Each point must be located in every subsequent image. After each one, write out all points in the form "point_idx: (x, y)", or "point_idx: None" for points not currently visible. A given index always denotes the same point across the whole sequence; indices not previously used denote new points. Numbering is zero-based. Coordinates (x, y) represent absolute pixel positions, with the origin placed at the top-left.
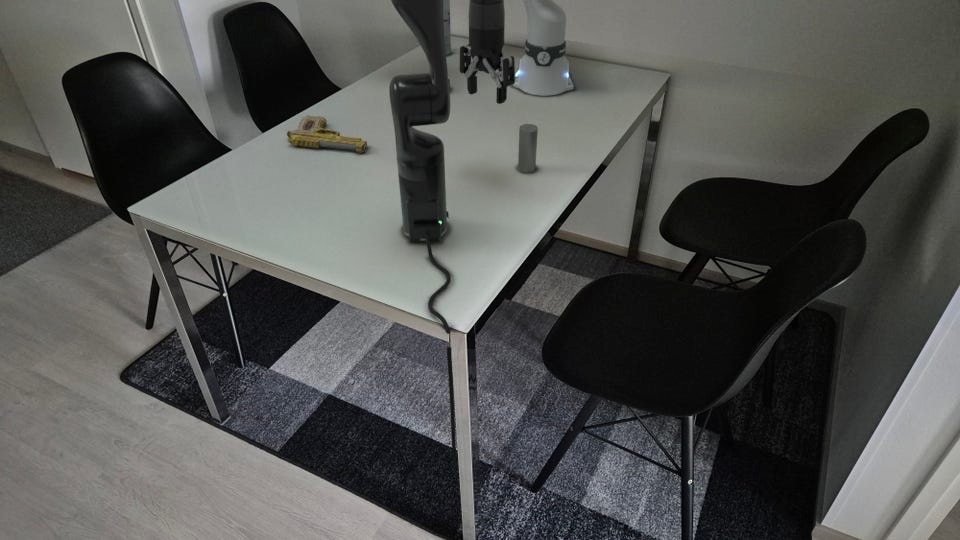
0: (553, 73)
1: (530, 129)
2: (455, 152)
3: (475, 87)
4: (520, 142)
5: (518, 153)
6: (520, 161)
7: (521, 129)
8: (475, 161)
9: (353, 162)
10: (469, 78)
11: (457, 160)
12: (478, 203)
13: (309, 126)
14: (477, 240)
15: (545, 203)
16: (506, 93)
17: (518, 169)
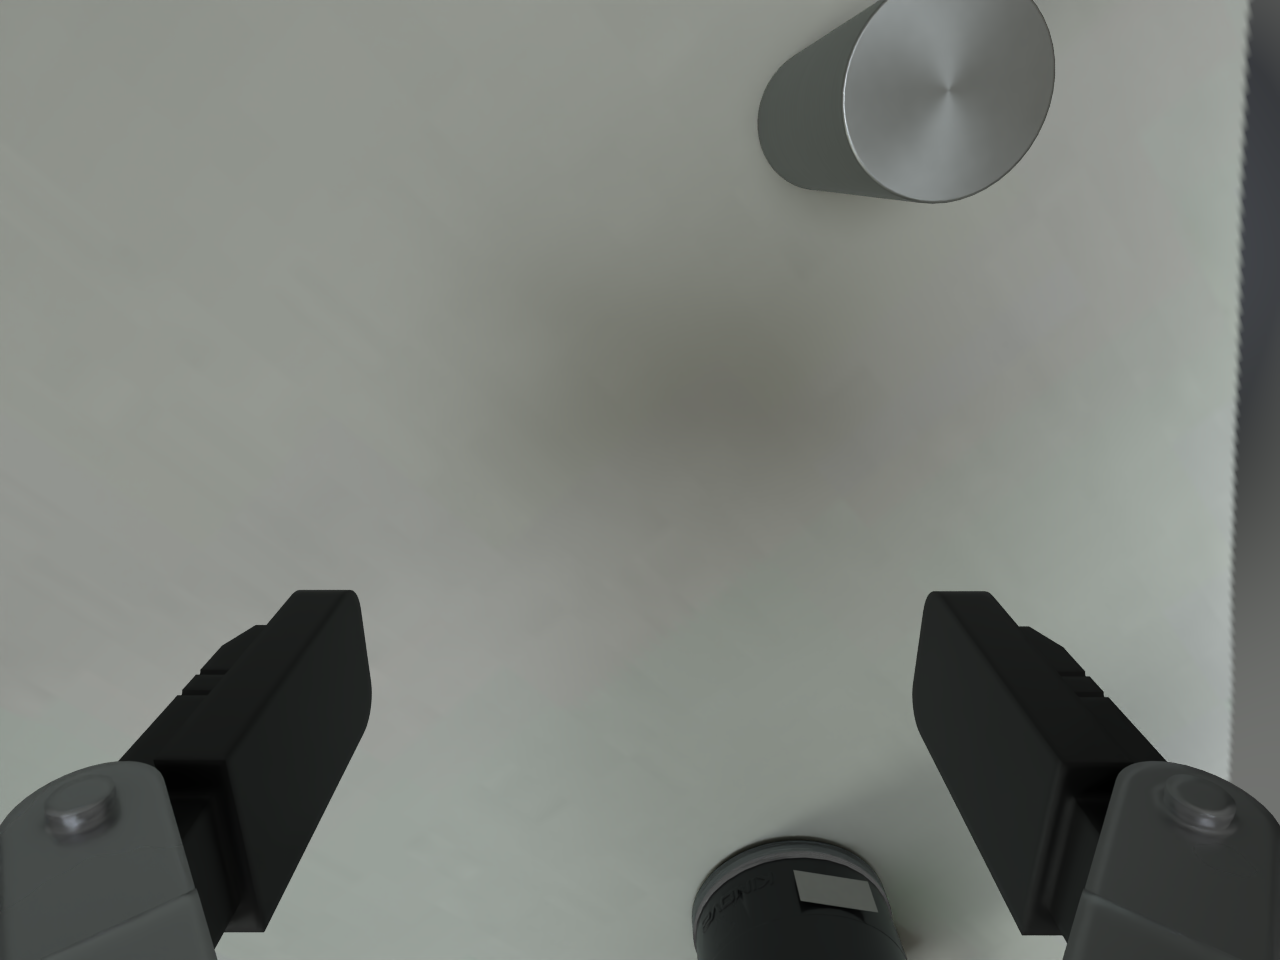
0: None
1: (988, 112)
2: (270, 298)
3: (328, 668)
4: (862, 194)
5: (799, 170)
6: (827, 191)
7: (904, 187)
8: (474, 299)
9: (10, 783)
10: (227, 926)
11: (377, 375)
12: (836, 638)
13: None
14: None
15: (1157, 399)
16: (1108, 704)
17: (788, 180)
